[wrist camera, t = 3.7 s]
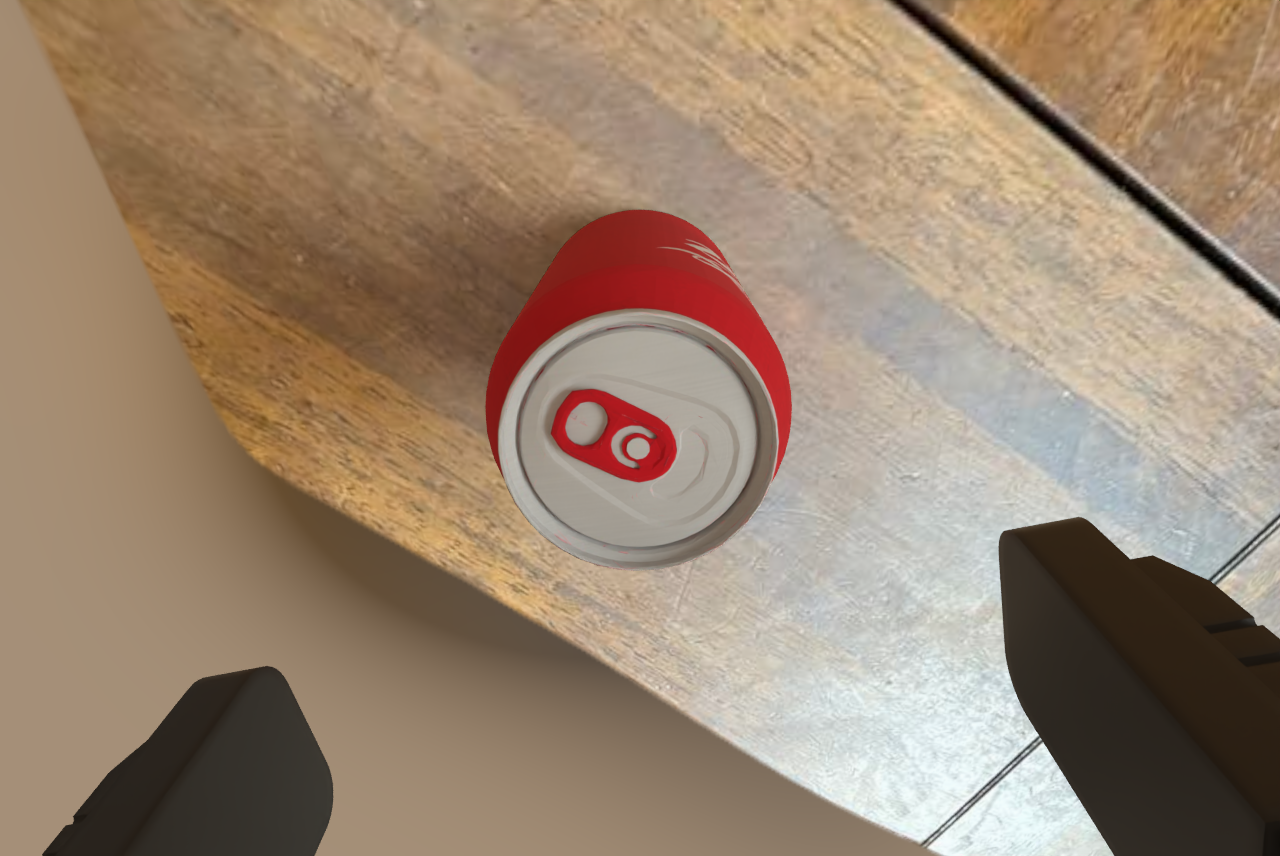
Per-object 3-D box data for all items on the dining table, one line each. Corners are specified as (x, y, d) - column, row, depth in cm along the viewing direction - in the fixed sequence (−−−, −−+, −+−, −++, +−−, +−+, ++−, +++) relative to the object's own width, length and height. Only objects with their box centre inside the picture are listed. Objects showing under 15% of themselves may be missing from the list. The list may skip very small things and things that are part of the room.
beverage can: (679, 424, 27) (704, 642, 16) (514, 345, 26) (417, 518, 15) (771, 262, 25) (874, 380, 14) (596, 169, 24) (554, 216, 13)
